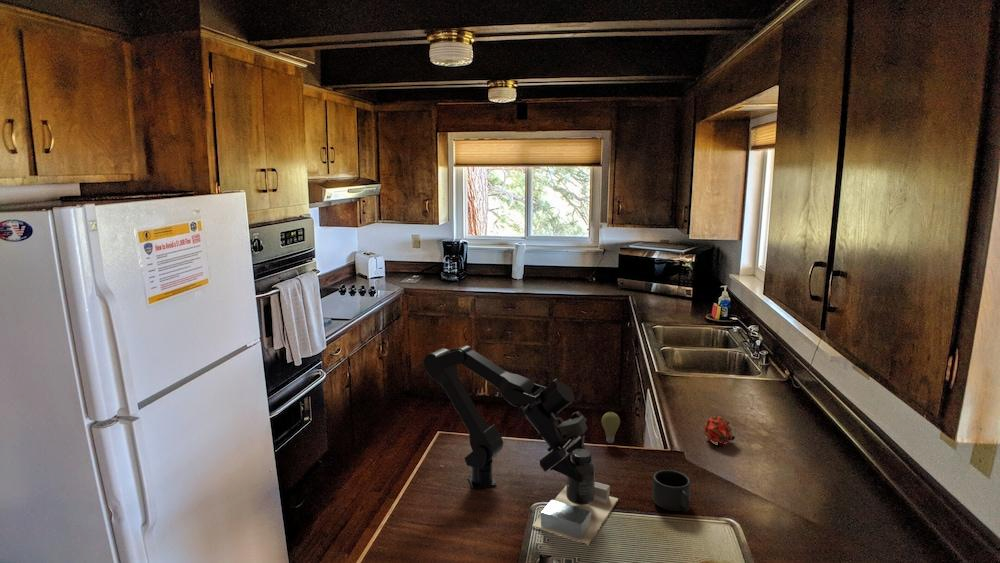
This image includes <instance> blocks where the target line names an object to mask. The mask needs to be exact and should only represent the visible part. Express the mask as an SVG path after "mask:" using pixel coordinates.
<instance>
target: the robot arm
mask: <svg viewBox="0 0 1000 563" xmlns="http://www.w3.org/2000/svg"><path fill="white" fill-rule="evenodd" d="M459 364H460V365H462V366H464V367H466V369H468V370H470V371H471V372H473V373H474V374H476V376H477V375H478V376H479V377H480V378H482V379H483V380H485V381H486V382H488V383H489V384H491V385H492V386H493V387H495V388H496V389H497V390H498V392H499V393H500V395H501V397H503V399H505V400H506V401H507V402H508V404H510V405H511V406H513V407H515V408H518V407H519V408H518V409H517V410H518V414H517V420H518V421H519V420H521V419H523V418H524V417H526V419H527V420H528V422H529V423H531V425H532V427H533V428H534V429H535V430H536V431H537V433H538V434H537V435H536V437H537V439H538V440H540V439H543V440H544V442H545V443H546V444H547V446H548V448H547V451H548V452H547V453H546V454H544V456H542V457H541V459H539V467H540V468H541V469H542V470H543V472H545V473H546V472H548V470H549V471H555V472H557V473H559V474H562V475H564V476H566V477H567V476H568V477H570V478H572V479H574V480H576V481H578V482H581V481H582V480H583V479H582V477H581V476H580V474H579V472H578V471H577V469H576V468H575V466H574V465H573V463H572V462H571V457H572V451H573V450H575V449H586V447H585V438H586V432H587V431H588V426H587V424H586V422H587V421H588V419H587V417H585V416H584V414H582V412H580V411H579V410H578V411H575V412H573V413H572V414H571V418H569V419H567V420H564V419H563V418H562V417H560V416H558V417H556V415H557V414H559V413H560V412H561V411H563V410H564V409H565V408H567V407H569V405H570V404H572V403H573V402H574V401H575V394H574V392H573V390H572V389H571V387H570V386H569V385H567V384H565V383H563V382H561V381H559V379H557V378H555V379H554V380H552V382H550V383H549V384H548V385H547V387H546V386H544V385H541V384H537V383H534V382H533V381H532V380H531V379H529V378H527V377H525V376H522V375H520V374H517V373H513V372H509V371H506V370H505V369H504V368H502V367H500V365H499V366H498V365H497V364H495V363H494V362H493V361H491V360H489V359H488V358H487V357H485V356H484V355H482V354H480V353H479V352H477V351H476V350H474V349H473V347H471V346H470V345H463V346H460V347H456V348H451V349H448V348H443V347H442V348H439V349H437V350H434V352H433V351H432V352H431V353H429V354H427V355H426V356H425V357H424V359H423V364H422V365H423V366H422V367H423V368H424V370H425V371H426V373H427V374H428V375H429V376H430V378H431V379H432V380H433V381H435V382H436V383H437V384H439V385H441V387H442V389H444V391H445V393H446V395H447V396H448V398H449V400H450V401H451V404H452V405H453V408H455V411H456V412H457V414H458V415H459V417H460V419H461V421H462V423H463V424H464V426H465V428H466V429H467V432H468V436H469V445H470V446H469V447H470V448H471V452H470V453H468V454H467V455H466V456H465V457H464V460H465V464H466V466H467V467H470V468H471V469H470V470H471V474H470V475H468V476H467V479H468V478H469V479H468V481H469V483H470V485H471V487H472V490H476V489H484V488H490V487H496V486H497V482H496V480H495V478H494V476H493V475H494V474H493V472H494V471H493V470H494V469H493V465H494V464H493V463H494V462H493V459H494V458H495V457H497V456H498V454H499V453H500V452H501V451H502V450H503V446H504V440H503V437H504V436H503V435H502V434H501V433H500V432H499V429H498V427H497V425H496V424H495V423H493V424H492V425H489V423H487V422H486V421H484V419H483V417H482V415H481V413H480V412H479V410H478V408H477V407H476V406H477V405H475V403H474V402H473V400H472V398H471V396H470V395H469V393H468V391H467V389H466V388H465V386H464V384H463V382H462V380H461V379H460V377H459V374H458V365H459ZM537 400H539V401H537ZM525 405H526V406H525ZM554 414H555V415H554Z"/></svg>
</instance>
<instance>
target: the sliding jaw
mask: <svg viewBox="0 0 1000 563" xmlns="http://www.w3.org/2000/svg"><path fill="white" fill-rule="evenodd" d="M540 516H541V526H543V527H546V528H549V529H552V530H555V531H559V532H562V533H565V534H568V535H571V536H574V537H577V538H582V537H583V535H584V534H585V532H586V531H587V529H588V528H589V527H590V525H591V511H588V510H585V509H582V508H578V507H575V506H571V505H568V504H564V503H561V502H558V501H554V499H551V500H550V501H549V502H548V503H547V505H546V506H545V507H544V508H543V510H541V512H540Z"/></svg>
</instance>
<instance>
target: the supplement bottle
mask: <svg viewBox="0 0 1000 563" xmlns="http://www.w3.org/2000/svg"><path fill="white" fill-rule="evenodd" d="M592 459H593V458H592V451H590V450H589V449H587V448H585V449H575V450H573V451H572V456H571V462H572V463H573V465H574V466H575V468H576V469H577V471H578V472H579V474H580V476H581V477H582V479H583V480H582V481H581V482H578V481H576V480H574V479H572V478H570V477H568V476H566V485H567V487H566V496H567V499H568V500H569V501H570V502H572V503H574V504H578V505H586V504H589V503H591V502H592V501H593V499H594V487H595V482H596V481H595V480H596V466H595V463H594V462H593V460H592Z"/></svg>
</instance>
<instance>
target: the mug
mask: <svg viewBox="0 0 1000 563" xmlns="http://www.w3.org/2000/svg"><path fill="white" fill-rule="evenodd" d="M691 483H692V482H691V479H690V477H689V476H688V475H686V474H684V473H682V472H680V471H677V470H672V469H664V470H663V469H662V470H658V471H656V472H655V473H654V474H653V475H652V490H651V492H652V499H653V501H654V503H655V504H656V505H657V506H658V507H660V508H662V509H663V510H667V511H672V512H677V511H679V512H680V511H684V512H689V511H690V508H691V507H690V506H691V505H690V501H691V500H690V499H691V487H692V486H691Z"/></svg>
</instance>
